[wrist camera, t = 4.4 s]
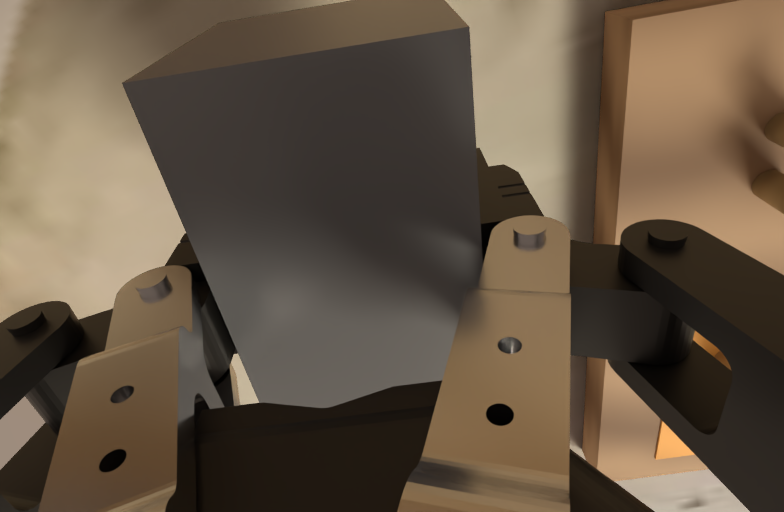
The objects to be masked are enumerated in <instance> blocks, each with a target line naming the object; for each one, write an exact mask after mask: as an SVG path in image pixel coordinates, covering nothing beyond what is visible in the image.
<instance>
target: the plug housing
mask: <svg viewBox="0 0 784 512" xmlns="http://www.w3.org/2000/svg"><path fill="white" fill-rule="evenodd" d="M122 84H123V87H124V89H125V91H126V94H127V96H128V98H129V101H130V103H131V105H132V108H133V110H134V112H135V115H136V117H137V119H138V122H139V124H140V126H141V129H142V131H143V133H144V135H145V138H146V140H147V142H148V145H149V147H150V149H151V152H152V154H153V156H154V159H155V161H156V163H157V166H158V168H159V170H160V173H161V175H162V177H163V180H164V182H165V184H166V187H167V189H168V191H169V194H170V196H171V198H172V201H173V203H174V205H175V208H176V210H177V212H178V215H179V217H180V219H181V221H182V224H183V226H184V228H185V231H186V233H187V235H188V238H189V240H190V242H191V245H192V247H193V249H194V252H195V254H196V256H197V259H198V261H199V263H200V266H201V268H202V270H203V273H204V275H205V277H206V280H207V282H208V284H209V287H210V289H211V291H212V294H213V296H214V298H215V301H216V303H217V305H218V307H219V310H220V312H221V314H222V317H223V319H224V321H225V324H226V326H227V328H228V331H229V333H230V335H231V338H232V340H233V342H234V345H235V347H236V349H237V352H238V354H239V356H240V359H241V361H242V363H243V366H244V368H245V370H246V373H247V375H248V377H249V380H250V382H251V384H252V387H253V389H254V391H255V393H256V396H257V398H258V400H259V403H263V402H264V403H274V404H284V405H294V406H305V407H315V408H329V407H333V406H336V405H339V404H342V403H345V402H348V401H351V400H354V399H357V398H360V397H363V396H366V395H369V394H372V393H375V392H378V391H381V390H384V389H387V388H390V387H393V386H400V385H409V384H417V383H425V382H433V381H441V380H443V376H444V372H445V369H446V365H447V361H448V357H449V354H450V350H451V346H452V343H453V339H454V335H455V332H456V328H457V324H458V321H459V317H460V313H461V309H462V306H463V302H464V298H465V295H466V292H467V290H468V288H470V287H472V288H478V284H479V280H480V275H481V271H482V267H483V258H482V240H481V223H480V206H479V189H478V171H477V154H476V137H475V120H474V102H473V85H472V68H471V51H470V33H469V26H468V25H467V24H466V23H465V22H464V21H463V20H462V19H461V17H460V16H459V15H458V14H457V13H456V12H455V11H454V10H453V9H452V8H451V7H450V6H449V5H448V4H447V2H446V1H445V0H352V1H346V2H340V3H334V4H328V5H322V6H316V7H310V8H304V9H298V10H292V11H286V12H280V13H274V14H268V15H262V16H256V17H250V18H245V19H239V20H233V21H227V22H221V23H218V24H217V25H215V26H213V27H212V28H210V29H209V30H207V31H205V32H204V33H202V34H200V35H199V36H197V37H196V38H194V39H192V40H191V41H189V42H188V43H186V44H184V45H183V46H181V47H179V48H178V49H176V50H175V51H173V52H171V53H170V54H168V55H167V56H165V57H163V58H162V59H160V60H159V61H157V62H155V63H154V64H152V65H150V66H149V67H147V68H146V69H144V70H142V71H141V72H139V73H138V74H136V75H134V76H133V77H131V78H129V79H128V80H126V81H125V82H123V83H122Z"/></svg>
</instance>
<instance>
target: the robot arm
mask: <svg viewBox="0 0 784 512" xmlns="http://www.w3.org/2000/svg"><path fill="white" fill-rule="evenodd" d="M476 154H477V171H478V189H479V206H480V223H481V240H482V258H483V267H482V271H481V275H480V280H479V284H478V288H472V287H470V288H468V290H467V292H466V295H465V298H464V302H463V306H462V309H461V313H460V317H459V321H458V324H457V328H456V332H455V335H454V339H453V343H452V346H451V350H450V354H449V357H448V361H447V365H446V369H445V372H444V376H443V380H441V381H433V382H425V383H417V384H409V385H400V386H393V387H390V388H387V389H384V390H381V391H378V392H375V393H372V394H369V395H366V396H363V397H360V398H357V399H354V400H351V401H348V402H345V403H342V404H339V405H336V406H333V407H329V408H315V407H305V406H294V405H284V404H274V403H264V402H263V403H255V404H247V405H240V400H239V393H238V385H237V377H236V373H235V371H234V368H233V366H232V364H231V360H232V357H233V354H237V353H238V352H237V349H236V347H235V345H234V342H233V340H232V338H231V335H230V333H229V331H228V328H227V326H226V324H225V321H224V319H223V317H222V314H221V312H220V310H219V307H218V305H217V303H216V301H215V298H214V296H213V294H212V291H211V289H210V287H209V284H208V282H207V280H206V277H205V275H204V273H203V270H202V268H201V266H200V263H199V261H198V259H197V256H196V254H195V252H194V249H193V247H192V245H191V242H190V240H189V238H188V235H187V233H185V234H184V236H183V237H182V239H181V240H180V242H181V243H179V244H178V245H177V247H176V249H175V250H174V252H173V253H172V255H171V257H170V258H169V260H168V261H167V263H166V265H165V266H163V267H159V268H155V269H152V270H149V271H147V272H144V273H142V274H140V275H138V276H136V277H135V278H133V279H132V280H130V281H129V282H127V283H126V284H125V285H124V286H123V287H122V288H121V289H120V290H119V292H118V293H117V295H116V298H115V303H114V308H113V309H110V310H107V311H104V312H101V313H98V314H95V315H92V316H89V317H86V318H82V319H79V320H78V319H77V317H76V316H75V314H74V312H73V311H72V309H71V308H70V306H69V305H68V304H67V303H65V302H61V301H51V302H45V303H40V304H37V305H34V306H31V307H28V308H26V309H24V310H22V311H19V312H17V313H16V314H14V315H12V316H10V317H9V318H7V319H6V320H4V321H3V322H1V323H0V419H1V418H2V417H3V416H4V415H5V414H6V413H7V412H8V411H9V410H11V409H12V408H13V407H14V406H15V405H16V404H17V403H18V402H19V401H20V400H21V399H22V398H23V397H24V396H25V397H26V398H27V399H28V400H29V402H30V403H31V404H32V406H33V407H34V408H35V409H36V411H37V412H38V413H39V414H40V416H41V417H42V418H43V419H44V421H45V422H46V423H45V424H44V425H43V426H42V427H41V428H40V429H39V430H38V431H37V432H36V433H35V434H34V435H33V436H32V437H31V438H30V439H29V441H28V442H27V443H26V444H25V445H24V446H23V447H22V448H21V449H20V450H19V451H18V452H17V453H16V454H15V455H14V456H13V457H12V458H11V460H10V461H9V462H8V463H7V464H6V465H5V466H4V467H3V468H2V469H1V470H0V512H654V511H653V510H652V509H650V508H649V507H648V506H646V505H645V504H644V503H642V502H641V501H639V500H638V499H637V498H635V497H634V496H633V495H631V494H630V493H629V492H627V491H626V490H625V489H623V488H622V487H621V486H619V485H618V484H617V483H615V482H614V481H613V480H611V479H610V478H609V477H607V476H606V475H604V474H603V473H602V472H600V471H599V470H598V469H596V468H595V467H594V466H592V465H591V464H590V463H588V462H587V461H586V460H584V459H583V458H582V457H580V456H579V455H578V454H576V453H575V452H573V451H572V450H571V449H570V355H574V356H583V357H591V358H600V359H607V360H608V363H609V365H610V367H611V368H612V369H613V370H614V371H615V372H616V374H617V375H618V376H619V377H620V378H621V379H622V380H623V381H624V382H625V383H626V384H627V385H628V386H629V387H630V388H631V389H632V390H633V391H634V392H635V393H636V394H637V395H638V396H639V397H640V398H641V399H642V400H643V401H644V402H645V403H646V404H647V406H648V407H649V408H650V409H651V410H652V411H653V412H654V413H655V414H656V415H657V416H658V417H659V418H660V419H661V420H662V421H663V422H664V423H665V424H666V425H667V426H668V427H669V428H670V429H671V430H672V431H673V432H674V433H675V434H676V435H677V437H678V438H679V439H680V440H681V441H682V442H683V443H684V444H685V445H686V446H687V447H688V448H689V449H690V450H691V451H692V452H693V453H694V454H695V455H696V456H697V457H698V458H699V459H700V460H701V461H702V462H703V463H704V464H705V465H706V466H707V467H708V469H709V470H710V471H711V472H712V473H713V474H714V475H715V476H716V477H717V478H718V479H719V480H720V481H721V482H722V483H723V484H724V485H725V486H726V487H727V488H728V489H729V490H730V491H731V492H732V493H733V494H734V495H735V496H736V497H737V498H738V499H739V501H740V502H741V503H742V504H743V505H744V506H745V507H746V508H747V509H748V510H749V511H750V512H784V275H783V274H781V273H779V272H777V271H776V270H774V269H772V268H770V267H768V266H767V265H765V264H763V263H761V262H759V261H758V260H756V259H754V258H752V257H750V256H749V255H747V254H745V253H743V252H742V251H740V250H738V249H736V248H734V247H733V246H731V245H729V244H727V243H725V242H724V241H722V240H720V239H718V238H716V237H715V236H713V235H711V234H709V233H708V232H706V231H704V230H702V229H700V228H698V227H696V226H694V225H691V224H688V223H684V222H680V221H675V220H666V219H653V220H644V221H640V222H636V223H634V224H631V225H630V226H628V227H627V228H625V229H624V230H623V232H622V234H621V238H620V245H610V244H592V243H583V242H578V241H574V240H571V239H570V232H569V230H568V228H567V227H566V226H565V225H564V224H562V223H561V222H559V221H557V220H555V219H552V218H548V217H544V215H543V214H542V212H541V210H540V209H539V207H538V205H537V203H536V202H535V200H534V198H533V197H532V195H531V194H530V191H529V190H528V188H527V186H526V185H525V183H524V181H523V179H522V178H521V176H520V174H519V172H517V171H515V170H513V169H512V168H510V167H508V166H506V165H497V166H490V167H488V165H487V163H486V161H485V158H484V156H483V154H482V152H481V150H480V148H476ZM695 331H696V332H698V333H699V334H700V335H702V336H703V337H704V338H705V339H707V340H708V341H709V342H711V343H712V344H713V345H714V346H716V347H717V348H718V349H719V350H720V351H721V352H722V353H723V355H724V356H725V357H726V359H727V361H728V363H729V365H730V367H731V370H732V371H731V370H730V369H729V368H727V367H726V366H725V365H724V364H722V363H721V362H720V361H719V360H717V359H716V358H715V357H713V356H712V355H711V354H710V353H708V352H707V351H706V350H705V349H703V348H702V347H701V346H700V345H698V344H697V343H696V342H695V341H693V337H694V333H695Z"/></svg>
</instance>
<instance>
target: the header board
mask: <svg viewBox="0 0 784 512" xmlns="http://www.w3.org/2000/svg"><path fill="white" fill-rule="evenodd" d="M653 219H666V220H675V221H680V222H684V223H688V224H691V225H694V226H696V227H698V228H700V229H702V230H704V231H706V232H708V233H709V234H711V235H713V236H715V237H716V238H718V239H720V240H722V241H724V242H725V243H727V244H729V245H731V246H733V247H734V248H736V249H738V250H740V251H742V252H743V253H745V254H747V255H749V256H750V257H752V258H754V259H756V260H758V261H759V262H761V263H763V264H765V265H767V266H768V267H770V268H772V269H774V270H776V271H777V272H779V273H781V274H783V275H784V0H665V1H660V2H654V3H649V4H643V5H638V6H633V7H627V8H622V9H616V10H611V11H605V25H604V44H603V63H602V82H601V101H600V120H599V140H598V159H597V178H596V197H595V216H594V235H593V244H610V245H620V238H621V234H622V232H623V230H624V229H625V228H627V227H628V226H630V225H631V224H634V223H636V222H640V221H644V220H653ZM693 341H695V342H696V343H697V344H698V345H700V346H701V347H702V348H703V349H705V350H706V351H707V352H708V353H710V354H711V355H712V356H713V357H715V358H716V359H717V360H719V361H720V362H721V363H722V364H724V365H725V366H726V367H727V368H729V369H730V370H731V367H730V365H729V363H728V361H727V359H726V357H725V356H724V355H723V353H722V352H721V351H720V350H719V349H718V348H717V347H716V346H714V345H713V344H712V343H711V342H709V341H708V340H707V339H705V338H704V337H703V336H702V335H700V334H699V333H698V332H696V331H695V333H694V337H693ZM731 371H732V370H731ZM582 451H583V453H584V456H585V458H586V460H587V462H588V463H590V464H591V465H592V466H594V467H595V468H596V469H598V470H599V471H600V472H602V473H603V474H604V475H606V476H607V477H609V478H610V479H611V480H613V481H620V480H628V479H635V478H643V477H651V476H659V475H666V474H674V473H682V472H689V471H697V470H705V469H708V467H707V466H706V465H705V464H704V463H703V462H702V461H701V460H700V459H699V458H698V457H697V456H696V455H695V454H694V453H693V452H692V451H691V450H690V449H689V448H688V447H687V446H686V445H685V444H684V443H683V442H682V441H681V440H680V439H679V438H678V437H677V435H676V434H675V433H674V432H673V431H672V430H671V429H670V428H669V427H668V426H667V425H666V424H665V423H664V422H663V421H662V420H661V419H660V418H659V417H658V416H657V415H656V414H655V413H654V412H653V411H652V410H651V409H650V408H649V407H648V406H647V404H646V403H645V402H644V401H643V400H642V399H641V398H640V397H639V396H638V395H637V394H636V393H635V392H634V391H633V390H632V389H631V388H630V387H629V386H628V385H627V384H626V383H625V382H624V381H623V380H622V379H621V378H620V377H619V376H618V375H617V374H616V372H615V371H614V370H613V369H612V368H611V367H610V365H609V363H608V360H607V359H600V358H591V357H587V369H586V388H585V408H584V427H583V446H582Z"/></svg>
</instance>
